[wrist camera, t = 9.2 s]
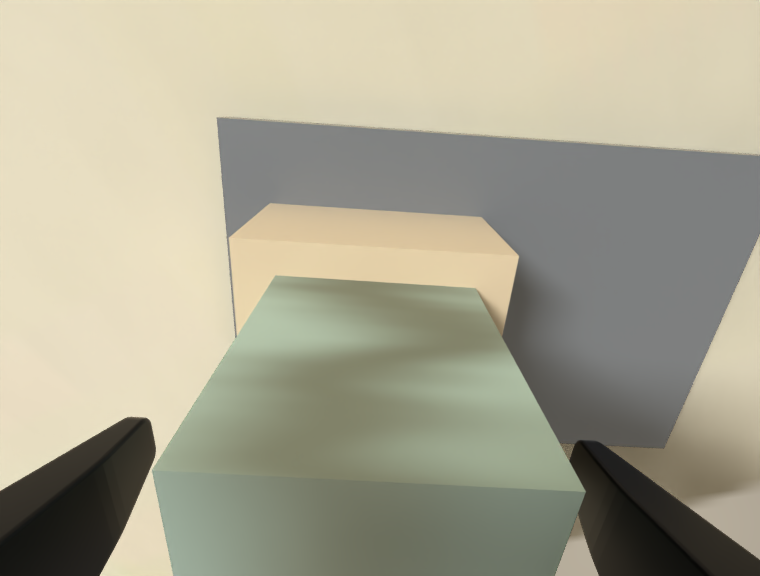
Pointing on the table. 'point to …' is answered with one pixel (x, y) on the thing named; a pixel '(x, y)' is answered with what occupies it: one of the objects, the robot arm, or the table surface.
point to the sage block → (366, 444)
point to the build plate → (512, 248)
